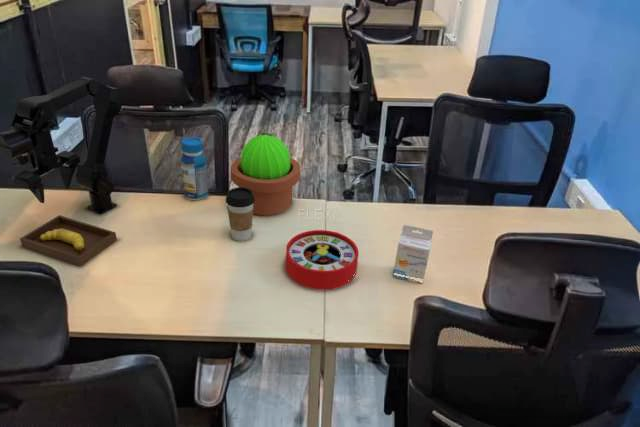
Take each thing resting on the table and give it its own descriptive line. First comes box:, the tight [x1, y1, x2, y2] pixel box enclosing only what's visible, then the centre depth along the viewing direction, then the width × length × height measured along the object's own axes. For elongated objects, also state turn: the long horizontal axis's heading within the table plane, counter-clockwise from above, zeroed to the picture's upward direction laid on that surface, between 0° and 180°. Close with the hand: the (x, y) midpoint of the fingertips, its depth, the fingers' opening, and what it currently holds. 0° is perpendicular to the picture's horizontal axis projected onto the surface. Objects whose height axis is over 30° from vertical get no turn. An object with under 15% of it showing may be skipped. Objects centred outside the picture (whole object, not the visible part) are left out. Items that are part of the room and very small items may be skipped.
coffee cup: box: [225, 186, 255, 242], centre depth 150 cm, size 8×8×15 cm
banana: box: [38, 229, 84, 252], centre depth 144 cm, size 15×6×3 cm, turn 68°
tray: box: [19, 214, 118, 268], centre depth 145 cm, size 21×14×3 cm
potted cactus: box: [230, 132, 301, 216], centre depth 165 cm, size 22×22×25 cm
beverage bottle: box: [180, 136, 210, 201], centre depth 168 cm, size 8×8×20 cm
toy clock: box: [285, 229, 359, 291], centre depth 141 cm, size 20×6×20 cm
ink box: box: [392, 224, 434, 284], centre depth 138 cm, size 8×5×15 cm, turn 72°
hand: (54, 195), depth 146 cm, fingers open, 9 cm apart
